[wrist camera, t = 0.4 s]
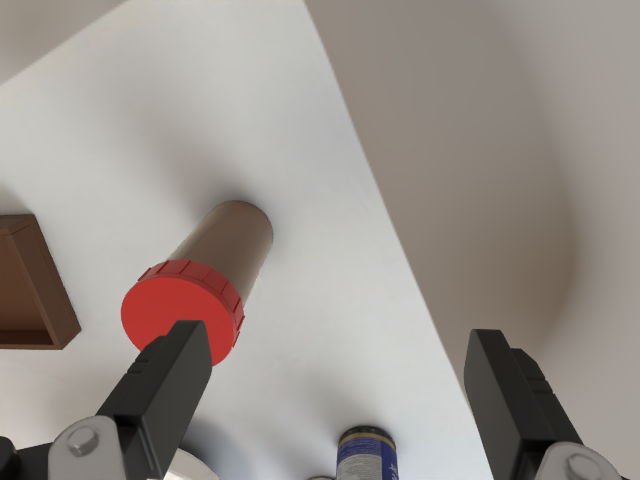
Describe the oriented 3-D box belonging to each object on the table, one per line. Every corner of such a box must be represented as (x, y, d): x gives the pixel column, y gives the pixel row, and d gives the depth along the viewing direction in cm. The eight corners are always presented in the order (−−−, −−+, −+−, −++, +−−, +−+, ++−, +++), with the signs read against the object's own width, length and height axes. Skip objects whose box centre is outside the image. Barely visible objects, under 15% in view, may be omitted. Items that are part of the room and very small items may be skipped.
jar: (199, 201, 31) (118, 277, 20) (269, 199, 30) (221, 277, 20) (212, 263, 33) (146, 359, 23) (276, 262, 33) (238, 361, 22)
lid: (125, 259, 22) (104, 277, 20) (235, 257, 21) (224, 276, 19) (153, 348, 24) (137, 370, 23) (251, 349, 24) (243, 372, 22)
